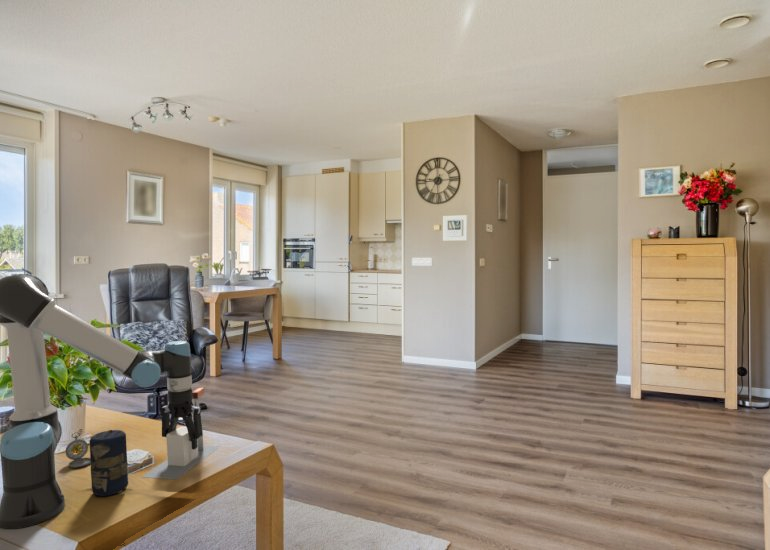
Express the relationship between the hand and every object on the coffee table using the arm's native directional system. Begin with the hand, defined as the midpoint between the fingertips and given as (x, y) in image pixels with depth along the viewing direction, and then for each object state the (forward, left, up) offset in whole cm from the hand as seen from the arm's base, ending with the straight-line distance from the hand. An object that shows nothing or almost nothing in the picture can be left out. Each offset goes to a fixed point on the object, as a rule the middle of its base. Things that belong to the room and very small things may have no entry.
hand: (183, 457), depth 167 cm
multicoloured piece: (+10, +3, +10) cm, 14 cm away
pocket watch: (-4, +36, -2) cm, 36 cm away
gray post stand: (0, 0, -2) cm, 2 cm away
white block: (0, 0, -1) cm, 1 cm away
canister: (-20, +11, -2) cm, 23 cm away
